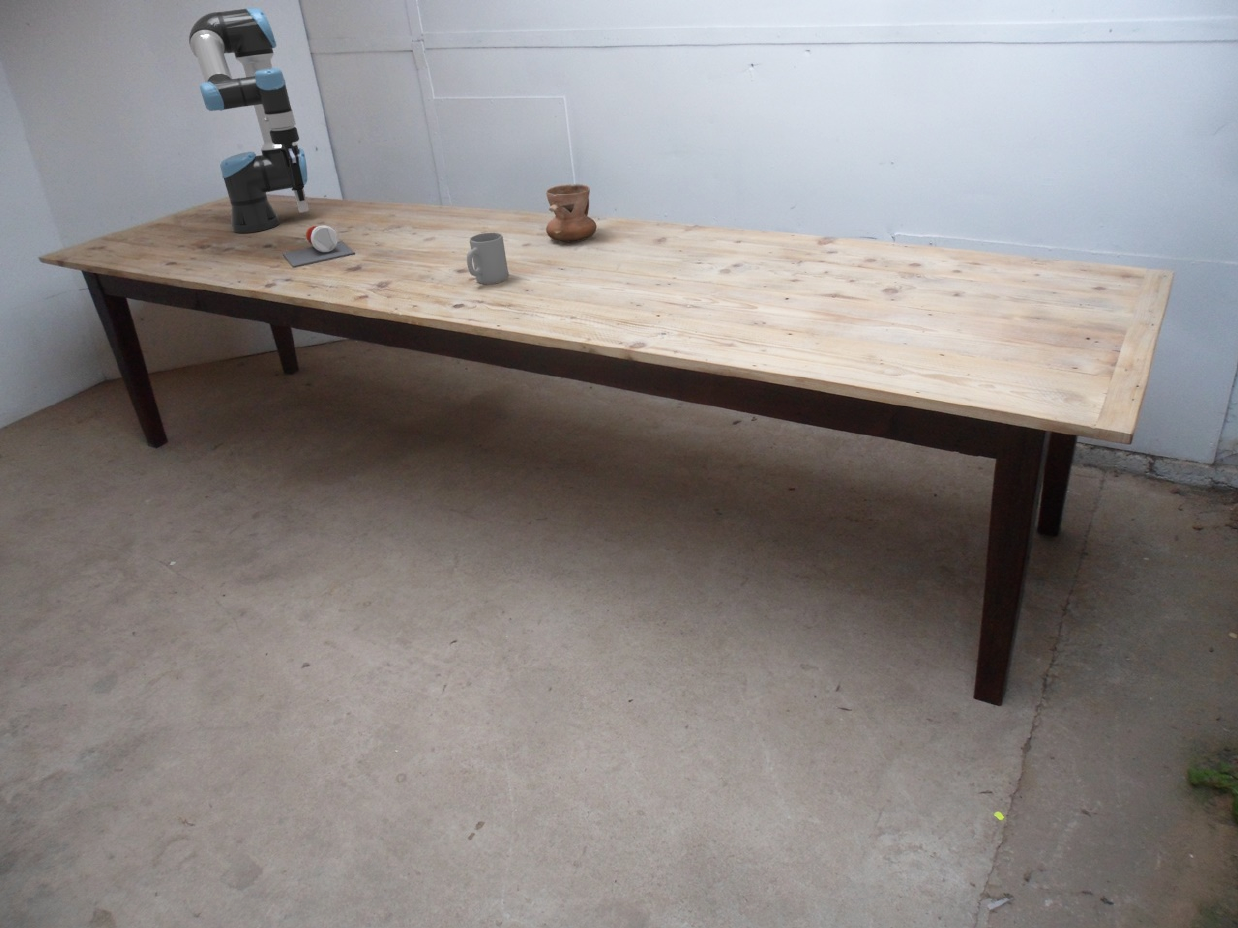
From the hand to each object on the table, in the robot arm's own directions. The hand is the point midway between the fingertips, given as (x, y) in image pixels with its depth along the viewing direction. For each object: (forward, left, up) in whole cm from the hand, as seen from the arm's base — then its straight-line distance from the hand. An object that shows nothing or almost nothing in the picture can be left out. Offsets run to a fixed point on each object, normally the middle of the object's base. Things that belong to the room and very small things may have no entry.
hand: (304, 211), depth 270 cm
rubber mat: (+7, 0, -12) cm, 13 cm away
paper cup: (-4, +2, -9) cm, 10 cm away
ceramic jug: (+48, +65, -12) cm, 82 cm away
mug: (+67, +31, -12) cm, 74 cm away
